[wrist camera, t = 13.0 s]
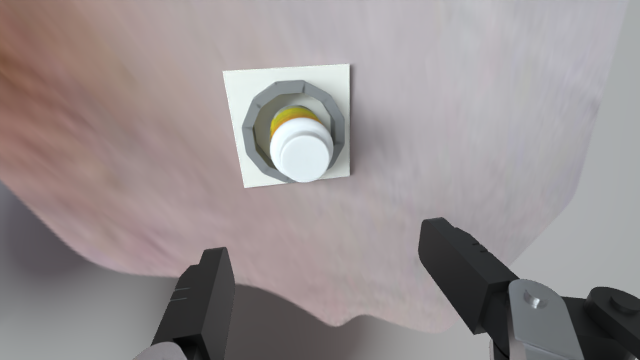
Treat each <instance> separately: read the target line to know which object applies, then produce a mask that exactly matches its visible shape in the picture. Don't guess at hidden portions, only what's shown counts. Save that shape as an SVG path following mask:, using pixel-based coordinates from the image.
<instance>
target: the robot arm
mask: <svg viewBox="0 0 640 360" xmlns="http://www.w3.org/2000/svg"><path fill="white" fill-rule="evenodd" d="M418 253H419V258H420V260H421V263H422V264H423V266H424V267H425V268H426V270H427V271H428V273H429V274H430V275H431V277H432V278H433V279H434V281H435V282H436V284H437V285H438V286H439V288H440V289H441V290H442V292H443V293H444V295H445V296H446V297H447V299H448V300H449V301H450V303H451V304H452V306H453V307H454V308H455V310H456V311H457V312H458V314H459V315H460V317H461V318H462V319H463V321H464V322H465V323H466V325H467V326H468V327H469V329H470V330H471V332H472V333H473V334H474V335H475V334H480V333H485V332H487V333H488V334H489V336H490V337H491V340H490V346H489V348H490V360H635V358H637V359H638V360H640V299H638V298H637V297H635V296H633V295H631V294H628V293H626V292H624V291H620V290H617V289H614V288H609V287H595V288H593V289H592V290H591V291H590V293H589V295H588V297H587V299H582V298H571V297H562V296H559V295H558V294H557V293H556V292H555V291H553V290H552V289H550V288H548V287H547V286H545V285H543V284H541V283H538V282H535V281H532V280H527V279H519V278H518V277H517V276H516V275H515V274H514V273H513V272H511V271H510V270H509V269H508V268H507V267H506V266H505V265H504V264H503V263H502V262H500V261H499V260H498V259H497V258H496V257H495V256H494V255H493V254H491V253H490V252H488V251H487V249H486V248H485V247H484V246H482V245H480V244H479V242H478V241H477V240H476V239H475V238H474V237H472V236H471V235H470V234H468V233H467V232H465V231H463V230H461V229H459V228H454V227H453V226H452V225H451V224H450V223H449V222H448V221H447V220H446V219H444V218H442V217H440V218H433V219H426V220H423V222H422V225H421V232H420V240H419V247H418ZM234 294H235V280H234V275H233V271H232V267H231V263H230V259H229V255H228V251H227V248H226V247H220V248H213V249H206V250H204V252H203V254H202V257H201V260H200V263H199V264H198V265H191V266H190V267H189V268H188V269H187V270H186V271H185V272H184V273H183V274H182V275H181V276H180V278H179V281H178V283H177V285H176V288H175V292H173V295H172V297H171V299H170V300H171V301H170V302H169V304H168V306H167V309H166V311H165V313H164V316H163V319H162V320H161V323H160V325H159V327H158V330H157V332H156V335H155V337H154V339H153V342H152V344H151V346H150V347H149V348H147V349H145V350H144V351H142V352H141V353H140V354H139V355H137V356H136V357H135V358H134V359H133V360H224V355H225V349H226V343H227V337H228V331H229V325H230V319H231V312H232V306H233V300H234Z"/></svg>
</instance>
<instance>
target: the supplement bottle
mask: <svg viewBox="0 0 640 360" xmlns="http://www.w3.org/2000/svg"><path fill="white" fill-rule="evenodd" d="M270 155H271V159H272V161H273V163H274V165H275V167H276V168H277V169H278V170H279V171H280V172H281V173H282V174H284V175H285V176H287V177H289V178H291V179H292V180H295V181H297V182H311V181H314V180H316V179H318V178H319V177H321V176H322V175H323V174H324V173H325V171H326V170H327V168H328V166H329V163H330V161H331V159H332V156H333V141H332V138H331V135H330V133H329V132H328V130H327V129H326V128H325V126H324V125H323V124H322V123H321V121H320V120H319V119H318V117H317V116H316V115H315V114H314V113H313V112H312V111H311V110H310V109H308V108H307V107H304V106H302V105H289V106H286V107H283V108H282V109H280V110H279V111H278V112H277V113H276V114H275V115H274V117H273V119H272V121H271V125H270Z"/></svg>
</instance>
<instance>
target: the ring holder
mask: <svg viewBox="0 0 640 360" xmlns="http://www.w3.org/2000/svg"><path fill="white" fill-rule="evenodd" d="M223 76H224V81H225V87H226V92H227V97H228V103H229V108H230V113H231V119H232V124H233V129H234V134H235V140H236V145H237V150H238V156H239V161H240V166H241V172H242V177H243V182H244V188H248V187H257V186H266V185H274V184H283V183H293V182H297V181H295V180H292V179H291V178H289V177H287V176H285V175H284V174H282V173H281V172H280V171H279V170H278V169H277V168H276V167H275V165H274V163H273V161H272V159H271V155H270V125H271V121H272V119H273V117H274V115H275V114H276V113H277V112H278V111H279V110H280V109H282V108H283V107H286V106H289V105H302V106H304V107H307V108H308V109H310V110H311V111H312V112H313V113H314V114H315V115H316V116H317V117H318V119H319V120H320V121H321V123H322V124H323V125H324V126H325V128H326V129H327V130H328V132H329V133H330V135H331V138H332V141H333V156H332V159H331V161H330V163H329V166H328V168H327V170H326V171H325V173H324V174H323V175H322V176H321V177H319V178H318V179H316V180H319V179H328V178H337V177H346V176H350V93H349V64H335V65H318V66H301V67H283V68H266V69H249V70H232V71H223Z"/></svg>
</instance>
